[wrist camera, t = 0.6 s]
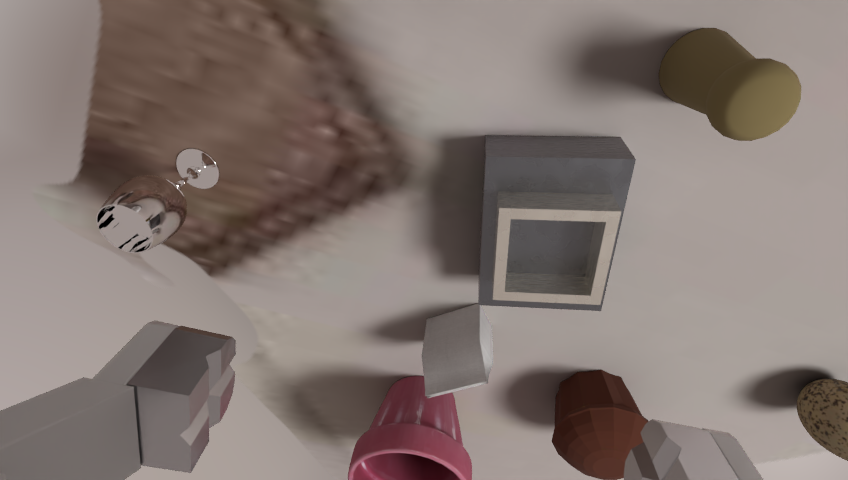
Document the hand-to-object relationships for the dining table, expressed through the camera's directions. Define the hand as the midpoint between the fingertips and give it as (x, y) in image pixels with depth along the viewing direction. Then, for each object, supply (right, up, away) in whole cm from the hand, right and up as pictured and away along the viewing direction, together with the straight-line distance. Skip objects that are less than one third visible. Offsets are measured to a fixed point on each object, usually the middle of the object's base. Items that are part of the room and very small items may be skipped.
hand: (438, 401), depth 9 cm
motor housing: (+12, +6, +38) cm, 41 cm away
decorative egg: (+46, -14, +47) cm, 67 cm away
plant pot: (-1, -18, +55) cm, 58 cm away
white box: (+4, -6, +47) cm, 48 cm away
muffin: (+21, -16, +52) cm, 58 cm away
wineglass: (-23, +11, +40) cm, 47 cm away
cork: (+22, +17, +30) cm, 41 cm away
